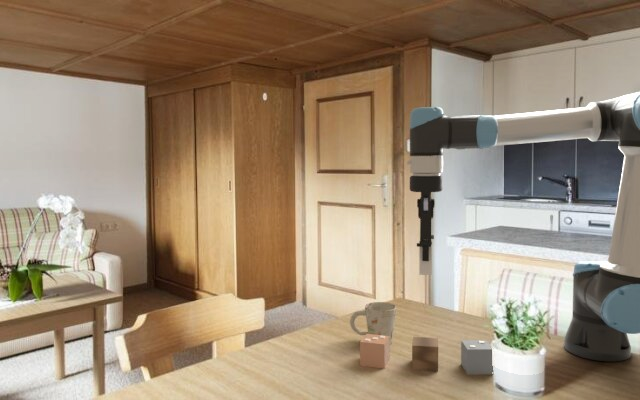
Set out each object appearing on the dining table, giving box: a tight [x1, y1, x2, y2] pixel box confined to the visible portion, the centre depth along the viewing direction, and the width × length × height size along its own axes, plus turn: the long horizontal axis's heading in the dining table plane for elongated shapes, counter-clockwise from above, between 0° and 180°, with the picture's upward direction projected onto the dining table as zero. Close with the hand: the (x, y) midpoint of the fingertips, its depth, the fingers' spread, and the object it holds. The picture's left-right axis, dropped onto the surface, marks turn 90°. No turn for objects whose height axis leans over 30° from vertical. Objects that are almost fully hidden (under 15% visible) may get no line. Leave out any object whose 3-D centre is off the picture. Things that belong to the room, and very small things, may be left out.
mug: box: [349, 301, 397, 345], centre depth 144 cm, size 8×13×10 cm, turn 78°
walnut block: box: [411, 336, 439, 373], centre depth 128 cm, size 6×6×6 cm
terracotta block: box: [359, 334, 391, 369], centre depth 130 cm, size 6×6×6 cm
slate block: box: [460, 339, 494, 375], centre depth 125 cm, size 6×6×6 cm
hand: (425, 269), depth 126 cm, fingers open, 9 cm apart
